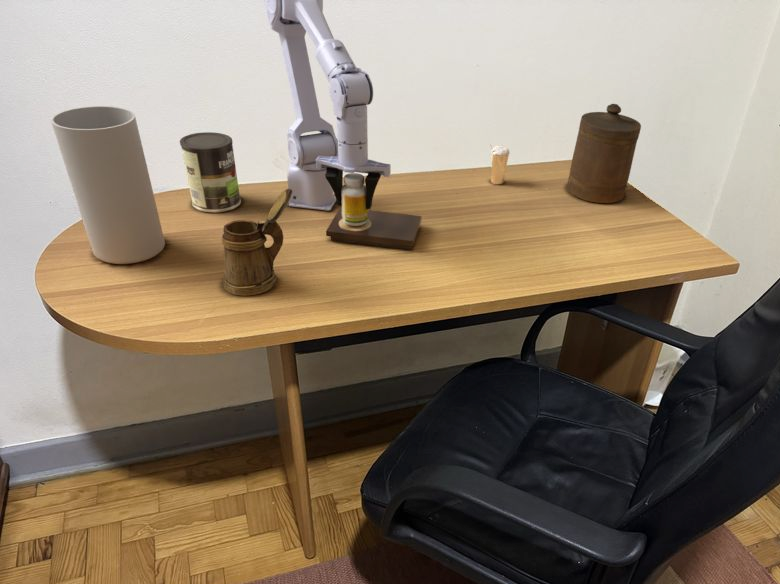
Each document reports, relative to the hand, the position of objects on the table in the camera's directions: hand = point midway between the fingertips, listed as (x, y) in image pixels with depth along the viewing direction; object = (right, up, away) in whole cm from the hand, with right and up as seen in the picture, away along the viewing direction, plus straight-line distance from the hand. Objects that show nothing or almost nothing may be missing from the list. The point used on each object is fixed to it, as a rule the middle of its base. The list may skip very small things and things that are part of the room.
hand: (354, 205), depth 128 cm
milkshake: (+31, +14, +33) cm, 47 cm away
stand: (+4, -5, +5) cm, 8 cm away
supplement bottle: (0, -3, +2) cm, 4 cm away
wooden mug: (-14, -17, -14) cm, 26 cm away
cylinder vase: (-42, -11, -8) cm, 44 cm away
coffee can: (-33, +3, +11) cm, 35 cm away
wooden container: (+56, +11, +34) cm, 67 cm away
